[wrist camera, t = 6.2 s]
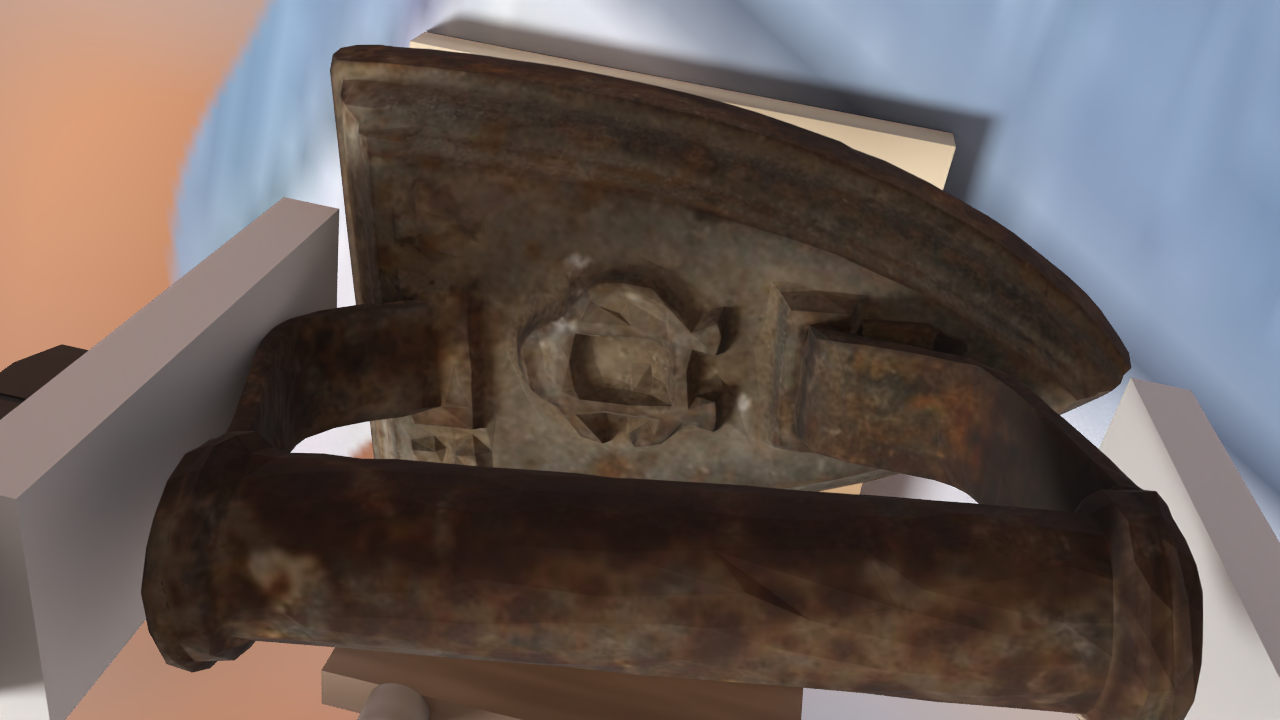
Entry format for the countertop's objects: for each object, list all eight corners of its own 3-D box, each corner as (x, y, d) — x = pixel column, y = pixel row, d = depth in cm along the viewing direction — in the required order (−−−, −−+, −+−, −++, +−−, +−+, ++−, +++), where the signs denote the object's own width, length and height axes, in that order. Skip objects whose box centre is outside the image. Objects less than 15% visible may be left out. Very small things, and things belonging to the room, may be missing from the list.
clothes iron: (302, 36, 15) (-48, 239, 6) (1073, 43, 16) (1752, 227, 7) (346, 475, 18) (144, 1063, 9) (1005, 459, 19) (1433, 978, 10)
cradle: (424, 31, 31) (254, 139, 23) (952, 133, 30) (989, 288, 21) (402, 566, 42) (279, 784, 33) (796, 659, 40) (778, 911, 32)
